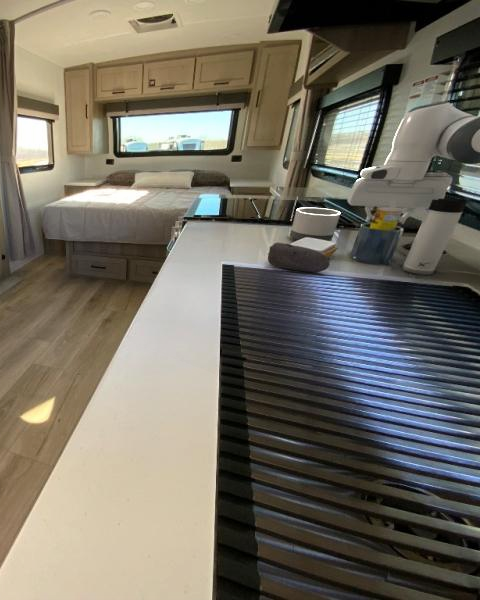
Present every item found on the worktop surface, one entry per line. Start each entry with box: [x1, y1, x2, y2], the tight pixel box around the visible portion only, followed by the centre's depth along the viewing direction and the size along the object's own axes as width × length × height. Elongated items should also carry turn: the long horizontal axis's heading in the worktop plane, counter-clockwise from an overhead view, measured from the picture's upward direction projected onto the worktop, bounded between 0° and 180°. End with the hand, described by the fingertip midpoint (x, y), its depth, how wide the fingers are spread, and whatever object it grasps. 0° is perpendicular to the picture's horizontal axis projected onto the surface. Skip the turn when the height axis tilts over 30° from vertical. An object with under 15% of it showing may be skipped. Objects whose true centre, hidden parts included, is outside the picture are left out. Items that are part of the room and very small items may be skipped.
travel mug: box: [401, 198, 471, 276], centre depth 87 cm, size 6×7×20 cm
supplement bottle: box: [370, 200, 404, 231], centre depth 95 cm, size 6×6×10 cm
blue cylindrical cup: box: [349, 222, 405, 266], centre depth 99 cm, size 10×10×10 cm
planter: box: [289, 207, 342, 242], centre depth 117 cm, size 13×13×10 cm
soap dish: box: [290, 237, 339, 259], centre depth 102 cm, size 12×10×5 cm
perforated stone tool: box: [267, 242, 331, 273], centre depth 93 cm, size 15×5×7 cm, turn 52°
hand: (383, 222), depth 96 cm, fingers closed on supplement bottle, 5 cm apart
